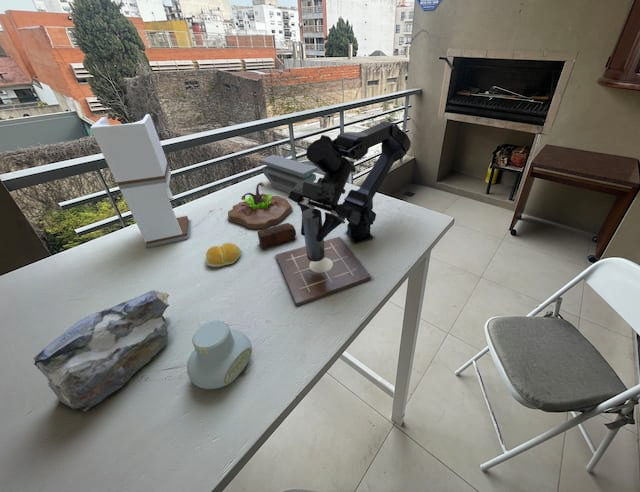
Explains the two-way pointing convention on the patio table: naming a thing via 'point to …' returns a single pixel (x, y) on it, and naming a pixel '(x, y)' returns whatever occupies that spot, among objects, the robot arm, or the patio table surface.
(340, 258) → the grid board
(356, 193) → the robot arm
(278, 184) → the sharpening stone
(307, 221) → the dark gray cylindrical container
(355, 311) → the patio table surface
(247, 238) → the patio table surface
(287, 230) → the brick
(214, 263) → the bread roll
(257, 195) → the plant
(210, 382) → the air freshener
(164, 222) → the white box tower
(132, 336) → the fossil rock
